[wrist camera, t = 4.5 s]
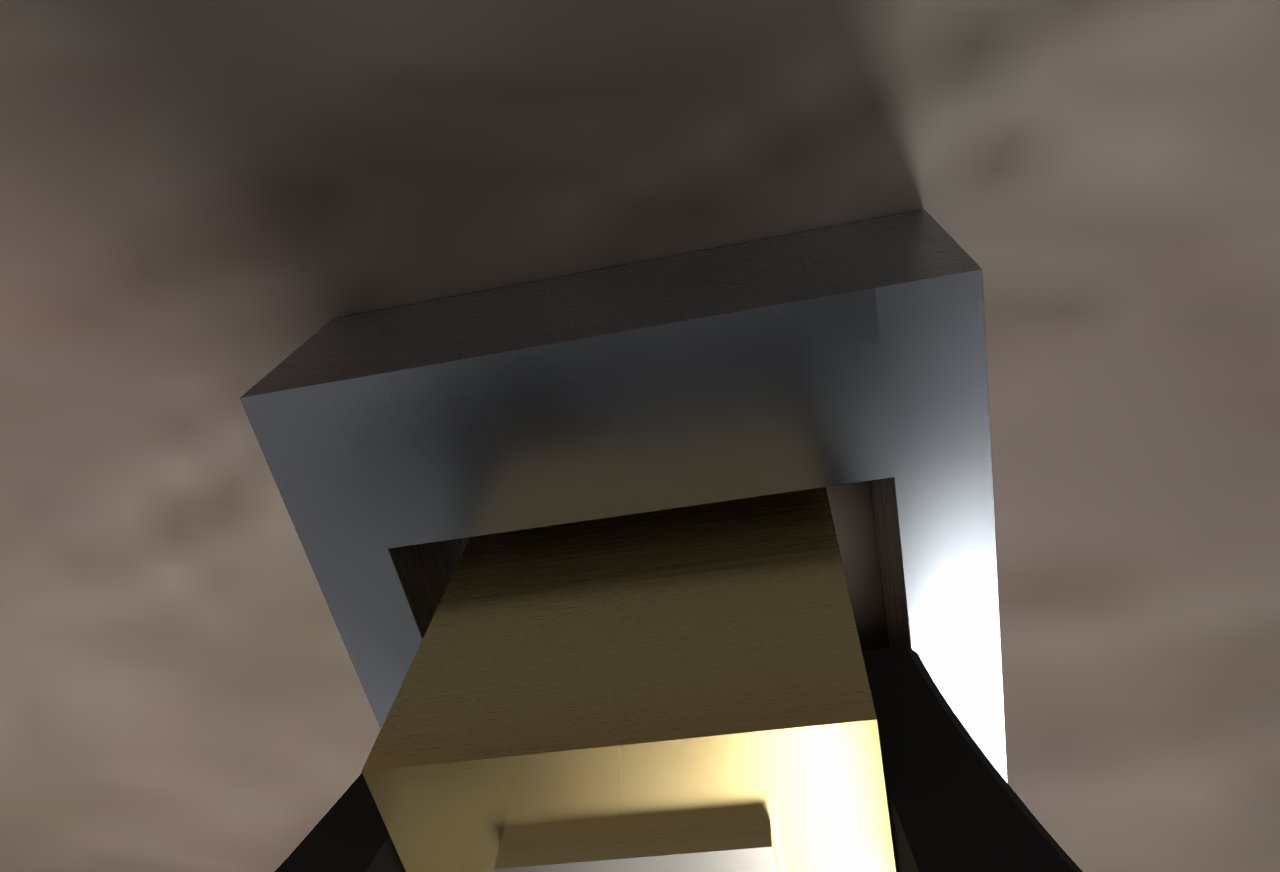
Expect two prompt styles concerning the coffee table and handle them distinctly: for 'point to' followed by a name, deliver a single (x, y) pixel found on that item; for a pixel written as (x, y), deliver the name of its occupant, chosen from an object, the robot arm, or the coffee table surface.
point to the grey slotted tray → (656, 429)
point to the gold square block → (641, 702)
